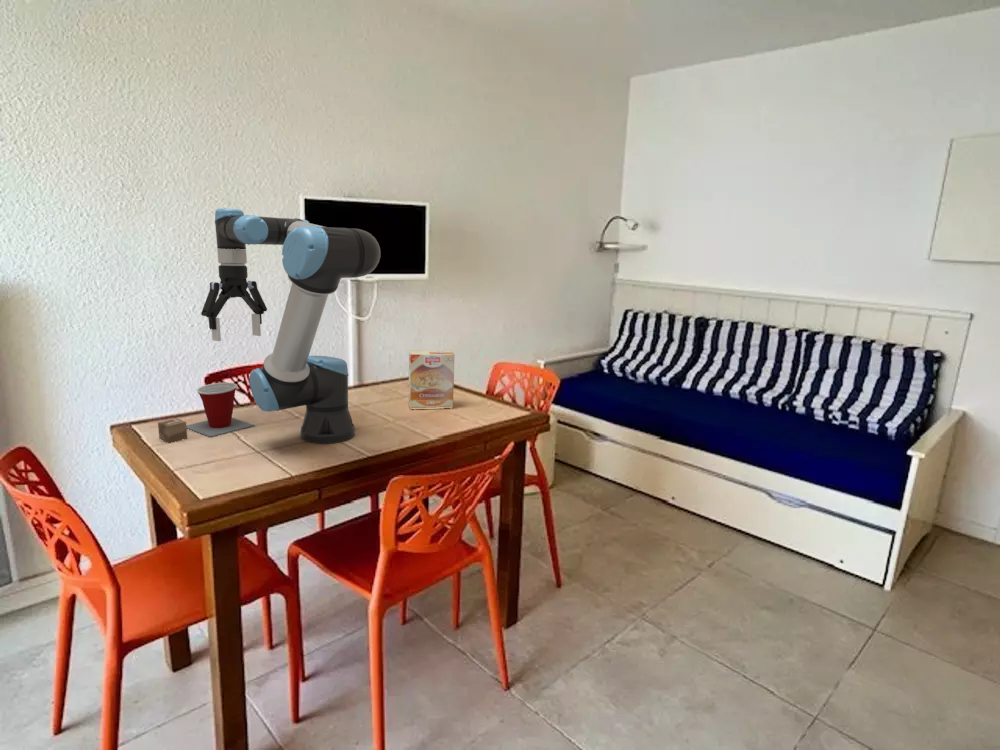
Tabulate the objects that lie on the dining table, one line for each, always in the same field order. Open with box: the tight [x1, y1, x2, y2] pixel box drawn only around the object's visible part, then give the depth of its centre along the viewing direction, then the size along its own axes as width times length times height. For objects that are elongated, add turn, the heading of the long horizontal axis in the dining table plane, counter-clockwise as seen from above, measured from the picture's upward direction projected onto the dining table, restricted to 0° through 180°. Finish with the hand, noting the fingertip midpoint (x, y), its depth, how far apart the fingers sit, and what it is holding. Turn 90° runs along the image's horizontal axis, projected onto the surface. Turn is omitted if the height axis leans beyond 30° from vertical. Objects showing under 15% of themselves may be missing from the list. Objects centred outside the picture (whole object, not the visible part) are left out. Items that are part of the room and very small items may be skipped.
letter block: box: [157, 417, 188, 444], centre depth 162 cm, size 5×5×5 cm
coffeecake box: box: [408, 350, 455, 410], centre depth 203 cm, size 15×7×20 cm, turn 104°
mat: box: [186, 417, 255, 438], centre depth 174 cm, size 14×14×1 cm
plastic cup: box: [196, 381, 238, 428], centre depth 173 cm, size 11×11×12 cm
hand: (237, 338), depth 173 cm, fingers open, 13 cm apart
